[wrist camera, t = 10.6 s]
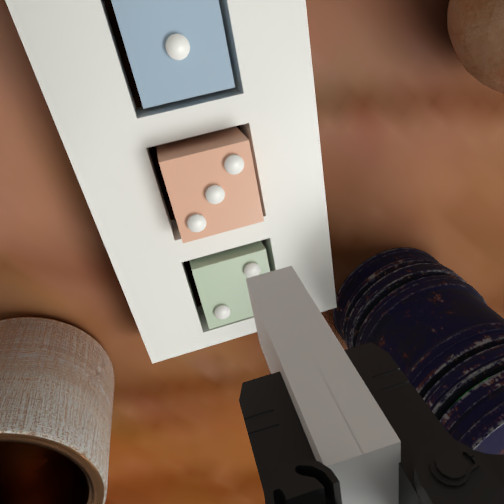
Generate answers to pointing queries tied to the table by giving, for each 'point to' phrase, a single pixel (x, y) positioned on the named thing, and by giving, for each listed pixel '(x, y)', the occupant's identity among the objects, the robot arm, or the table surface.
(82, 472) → the planter
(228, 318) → the button two dots
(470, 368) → the navy blue cylinder
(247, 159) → the button three dots
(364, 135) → the table surface
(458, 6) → the onion
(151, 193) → the button panel
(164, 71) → the button one dot
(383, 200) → the table surface
